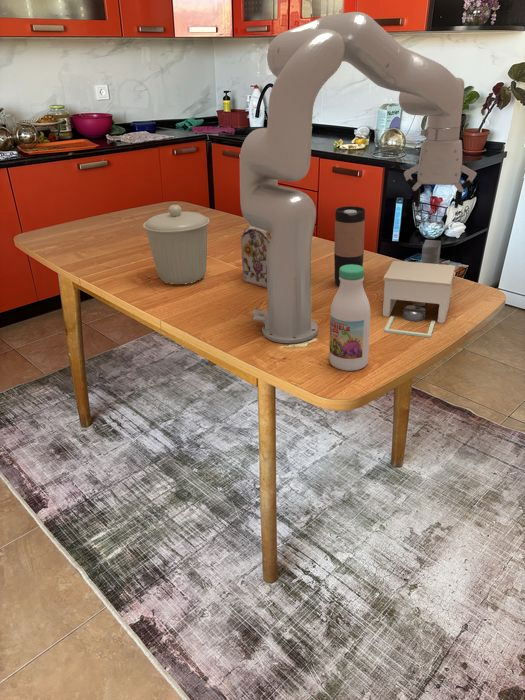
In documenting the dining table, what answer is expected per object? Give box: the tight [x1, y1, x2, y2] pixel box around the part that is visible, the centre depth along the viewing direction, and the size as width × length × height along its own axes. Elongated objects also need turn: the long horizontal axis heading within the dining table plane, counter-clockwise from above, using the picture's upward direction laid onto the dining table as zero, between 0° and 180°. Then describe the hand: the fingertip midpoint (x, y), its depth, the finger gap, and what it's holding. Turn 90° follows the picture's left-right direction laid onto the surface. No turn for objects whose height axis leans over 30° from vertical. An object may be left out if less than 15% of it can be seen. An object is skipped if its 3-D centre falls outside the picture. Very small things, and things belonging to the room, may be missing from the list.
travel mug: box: [333, 205, 366, 288], centre depth 147 cm, size 8×8×20 cm
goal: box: [383, 315, 436, 339], centre depth 126 cm, size 10×8×1 cm
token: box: [402, 304, 427, 323], centre depth 130 cm, size 5×5×2 cm
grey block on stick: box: [411, 239, 442, 307], centre depth 143 cm, size 4×22×10 cm, turn 158°
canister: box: [142, 204, 211, 285], centre depth 155 cm, size 18×18×21 cm
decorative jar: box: [240, 223, 272, 289], centre depth 152 cm, size 12×12×18 cm
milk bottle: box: [328, 264, 371, 372], centre depth 108 cm, size 8×8×20 cm
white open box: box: [382, 260, 456, 324], centre depth 132 cm, size 15×13×10 cm
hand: (436, 206), depth 143 cm, fingers open, 9 cm apart
